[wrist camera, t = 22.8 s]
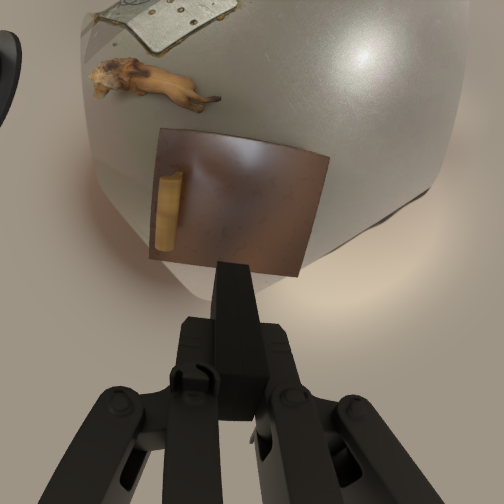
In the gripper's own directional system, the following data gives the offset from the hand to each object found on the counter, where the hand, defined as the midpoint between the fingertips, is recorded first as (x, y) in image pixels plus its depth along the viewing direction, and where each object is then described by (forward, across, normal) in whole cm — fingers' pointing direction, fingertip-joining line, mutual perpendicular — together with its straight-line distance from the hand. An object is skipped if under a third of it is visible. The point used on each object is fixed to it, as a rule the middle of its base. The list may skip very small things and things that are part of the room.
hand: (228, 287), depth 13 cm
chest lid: (+15, +1, 0) cm, 15 cm away
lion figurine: (+24, -10, +12) cm, 29 cm away
